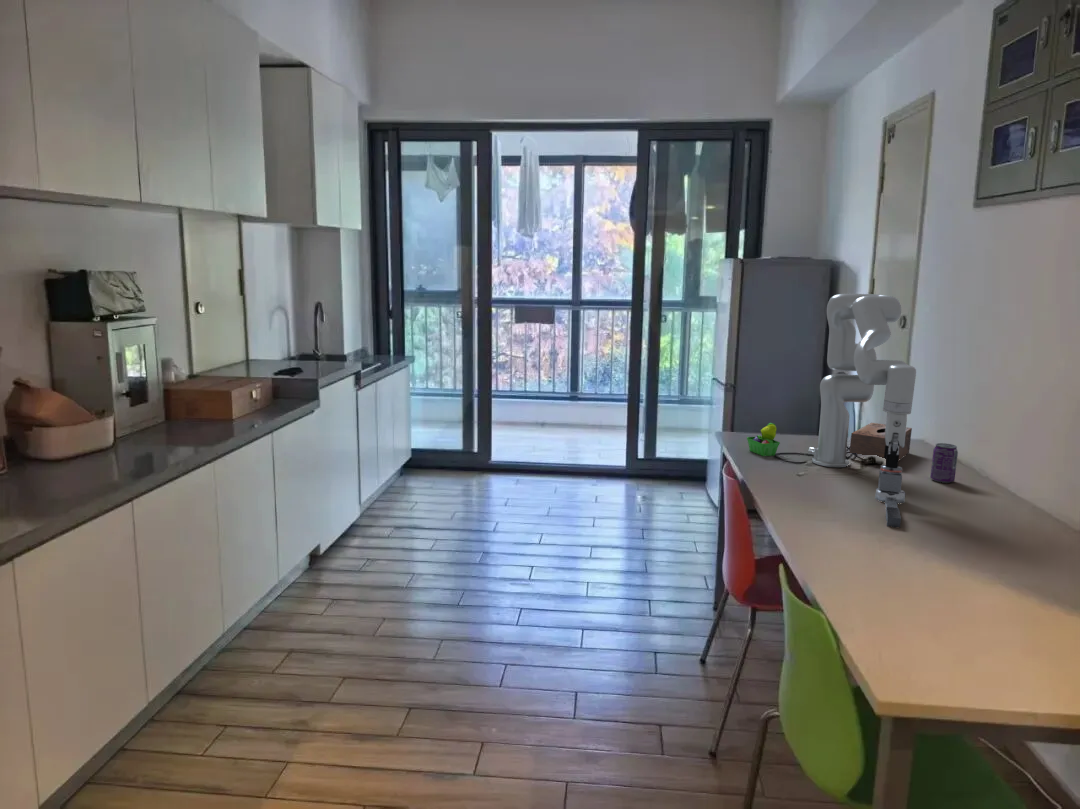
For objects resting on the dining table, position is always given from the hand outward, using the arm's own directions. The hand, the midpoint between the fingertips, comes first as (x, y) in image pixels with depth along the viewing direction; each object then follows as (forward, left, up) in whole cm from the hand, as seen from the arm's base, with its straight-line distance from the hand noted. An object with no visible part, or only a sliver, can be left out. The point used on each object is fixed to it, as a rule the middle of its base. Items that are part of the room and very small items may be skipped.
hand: (890, 463), depth 229 cm
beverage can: (+1, +36, -12) cm, 37 cm away
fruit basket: (-56, +19, -12) cm, 60 cm away
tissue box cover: (-28, +50, -12) cm, 59 cm away
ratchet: (+6, -10, -11) cm, 16 cm away
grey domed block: (+1, 0, -8) cm, 8 cm away
